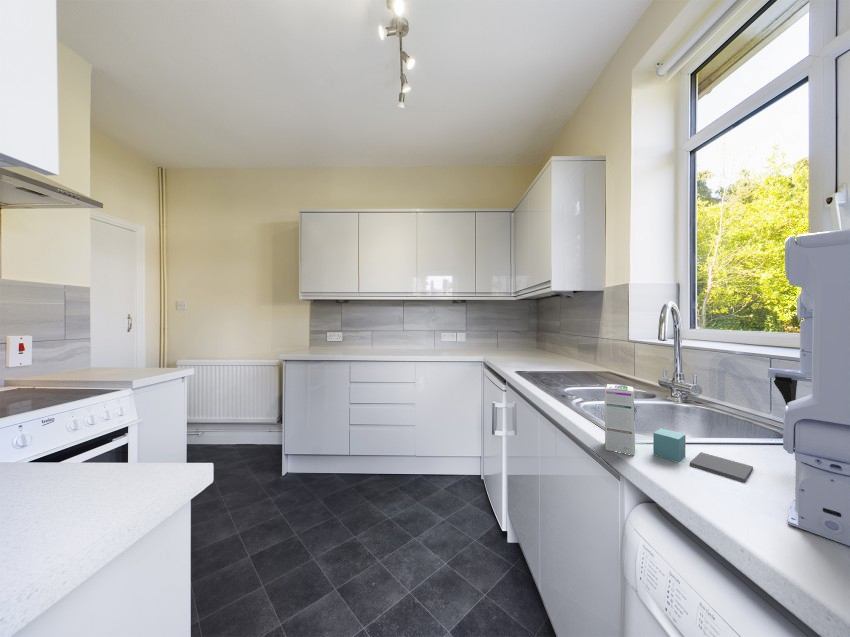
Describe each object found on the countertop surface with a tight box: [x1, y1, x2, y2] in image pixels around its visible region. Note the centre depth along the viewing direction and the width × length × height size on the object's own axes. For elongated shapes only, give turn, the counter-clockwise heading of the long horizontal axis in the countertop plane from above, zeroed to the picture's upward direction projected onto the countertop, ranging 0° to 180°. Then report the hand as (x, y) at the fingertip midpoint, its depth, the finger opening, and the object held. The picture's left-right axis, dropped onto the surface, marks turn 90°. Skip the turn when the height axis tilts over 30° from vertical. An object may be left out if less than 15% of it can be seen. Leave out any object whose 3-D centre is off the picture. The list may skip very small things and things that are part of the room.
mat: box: [689, 451, 754, 483], centre depth 63 cm, size 8×8×1 cm
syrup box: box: [604, 383, 636, 456], centre depth 71 cm, size 6×6×14 cm
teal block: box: [652, 427, 686, 463], centre depth 68 cm, size 4×4×5 cm
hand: (821, 419), depth 62 cm, fingers open, 7 cm apart
